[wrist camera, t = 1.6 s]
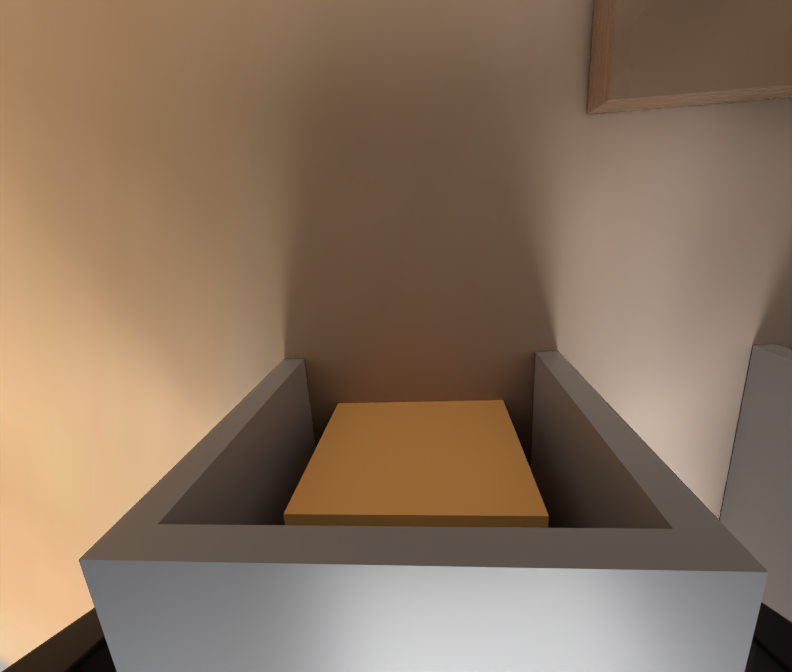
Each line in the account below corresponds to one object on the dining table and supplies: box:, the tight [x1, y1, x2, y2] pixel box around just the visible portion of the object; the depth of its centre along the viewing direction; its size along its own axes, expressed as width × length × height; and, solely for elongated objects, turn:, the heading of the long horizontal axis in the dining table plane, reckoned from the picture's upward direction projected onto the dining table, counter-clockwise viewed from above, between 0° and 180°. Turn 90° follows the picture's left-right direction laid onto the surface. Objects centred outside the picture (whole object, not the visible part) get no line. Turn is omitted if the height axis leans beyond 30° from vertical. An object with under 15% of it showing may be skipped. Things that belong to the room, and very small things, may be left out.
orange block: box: [283, 400, 549, 528], centre depth 9 cm, size 4×4×4 cm
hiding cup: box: [79, 351, 768, 672], centre depth 8 cm, size 6×6×6 cm
